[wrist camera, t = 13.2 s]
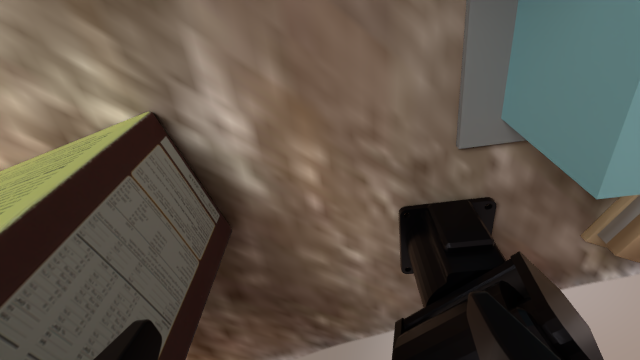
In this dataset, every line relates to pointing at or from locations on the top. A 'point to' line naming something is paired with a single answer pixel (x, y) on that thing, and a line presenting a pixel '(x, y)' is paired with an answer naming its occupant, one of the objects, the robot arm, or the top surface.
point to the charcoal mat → (486, 73)
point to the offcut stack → (618, 228)
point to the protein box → (105, 245)
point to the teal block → (579, 89)
